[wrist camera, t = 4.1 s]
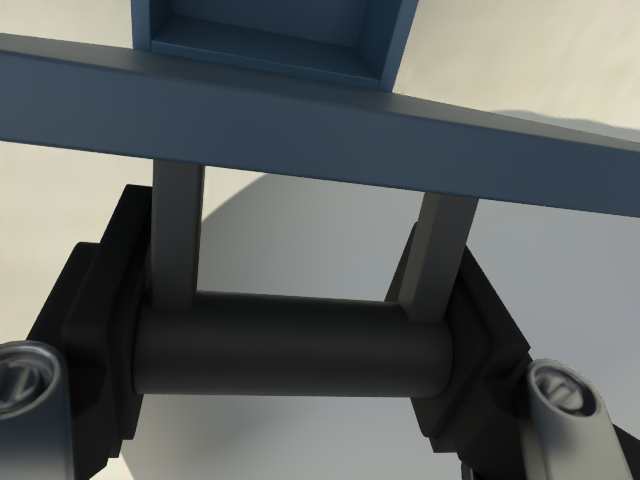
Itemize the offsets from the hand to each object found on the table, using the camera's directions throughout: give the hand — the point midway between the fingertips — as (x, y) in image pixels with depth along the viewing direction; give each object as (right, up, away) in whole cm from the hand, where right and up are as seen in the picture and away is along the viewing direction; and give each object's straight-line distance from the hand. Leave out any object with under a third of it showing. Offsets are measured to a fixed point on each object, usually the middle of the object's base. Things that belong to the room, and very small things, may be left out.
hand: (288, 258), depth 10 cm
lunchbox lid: (0, +5, +3) cm, 6 cm away
